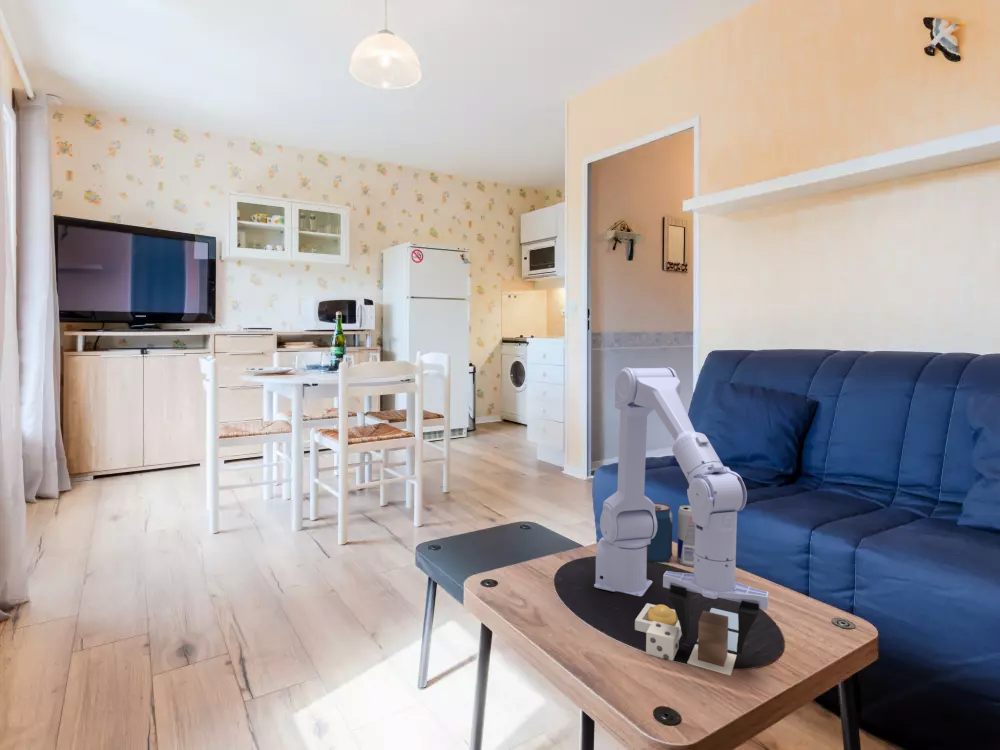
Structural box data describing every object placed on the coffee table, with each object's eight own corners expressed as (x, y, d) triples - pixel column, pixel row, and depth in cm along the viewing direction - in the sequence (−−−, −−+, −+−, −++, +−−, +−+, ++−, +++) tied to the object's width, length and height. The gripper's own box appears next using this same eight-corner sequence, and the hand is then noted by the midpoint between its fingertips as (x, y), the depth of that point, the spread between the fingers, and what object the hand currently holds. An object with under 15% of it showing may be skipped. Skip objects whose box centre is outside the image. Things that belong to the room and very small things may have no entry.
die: (645, 658, 84) (645, 631, 84) (652, 645, 88) (652, 619, 88) (674, 666, 82) (675, 638, 82) (680, 652, 86) (680, 625, 86)
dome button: (644, 629, 92) (645, 607, 92) (652, 618, 96) (652, 597, 95) (671, 636, 90) (672, 614, 89) (678, 624, 93) (678, 603, 93)
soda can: (676, 558, 124) (677, 505, 123) (664, 568, 118) (665, 512, 117) (647, 550, 128) (648, 499, 127) (634, 560, 122) (635, 506, 122)
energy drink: (686, 555, 125) (687, 503, 124) (707, 563, 121) (709, 509, 120) (672, 561, 122) (673, 507, 121) (694, 569, 117) (695, 513, 117)
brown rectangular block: (697, 659, 83) (698, 620, 82) (702, 648, 86) (703, 610, 85) (723, 667, 81) (724, 627, 80) (727, 655, 84) (728, 616, 84)
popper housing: (634, 633, 91) (635, 620, 91) (646, 615, 97) (646, 603, 97) (678, 644, 88) (678, 631, 88) (687, 625, 94) (688, 612, 94)
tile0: (704, 625, 94) (705, 622, 94) (711, 611, 99) (711, 607, 99) (743, 635, 91) (743, 631, 91) (747, 619, 96) (747, 616, 96)
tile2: (687, 666, 82) (687, 662, 82) (695, 647, 87) (695, 644, 87) (730, 679, 79) (730, 675, 79) (736, 658, 84) (736, 655, 84)
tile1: (696, 644, 88) (696, 641, 88) (703, 628, 93) (703, 624, 93) (737, 655, 85) (737, 651, 85) (742, 637, 90) (742, 634, 90)
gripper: (658, 553, 82) (656, 642, 83) (766, 574, 75) (763, 671, 76) (670, 538, 88) (668, 621, 89) (771, 556, 81) (768, 647, 82)
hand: (712, 643), depth 83 cm, fingers open, 7 cm apart
